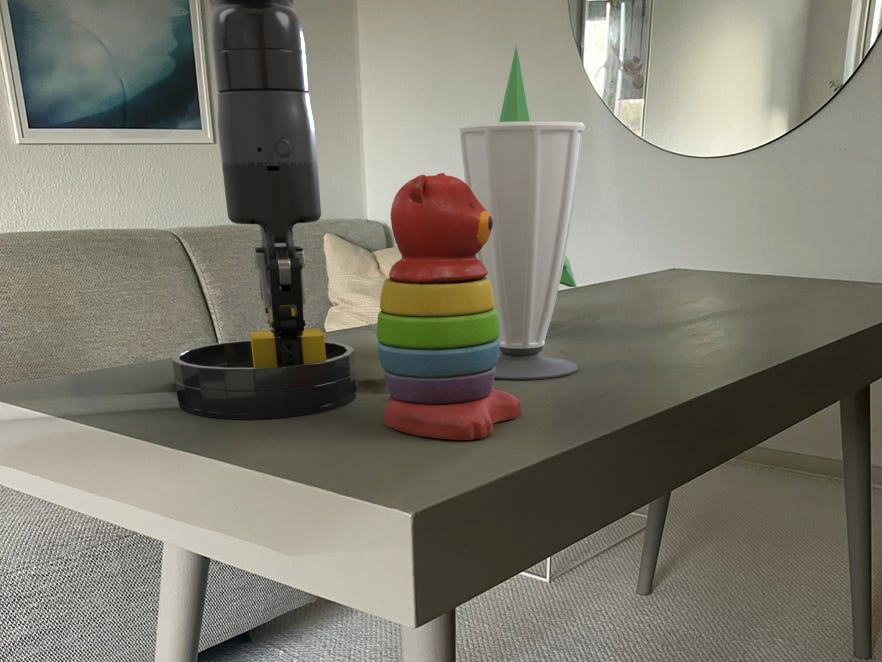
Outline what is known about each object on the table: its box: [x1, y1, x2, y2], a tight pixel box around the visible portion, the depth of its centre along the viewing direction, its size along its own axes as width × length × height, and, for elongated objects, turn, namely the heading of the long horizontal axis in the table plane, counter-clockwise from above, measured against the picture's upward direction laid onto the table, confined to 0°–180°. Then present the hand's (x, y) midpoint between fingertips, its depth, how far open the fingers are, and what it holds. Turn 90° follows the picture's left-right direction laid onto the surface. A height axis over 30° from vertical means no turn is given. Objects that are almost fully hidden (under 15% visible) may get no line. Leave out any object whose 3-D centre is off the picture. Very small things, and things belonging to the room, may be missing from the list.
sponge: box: [249, 328, 326, 368], centre depth 85 cm, size 6×4×4 cm, turn 104°
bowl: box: [171, 339, 357, 420], centre depth 86 cm, size 15×15×4 cm
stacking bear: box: [376, 172, 522, 441], centre depth 74 cm, size 11×10×18 cm
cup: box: [459, 120, 586, 381], centre depth 93 cm, size 12×12×22 cm
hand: (289, 375), depth 86 cm, fingers closed on sponge, 4 cm apart
